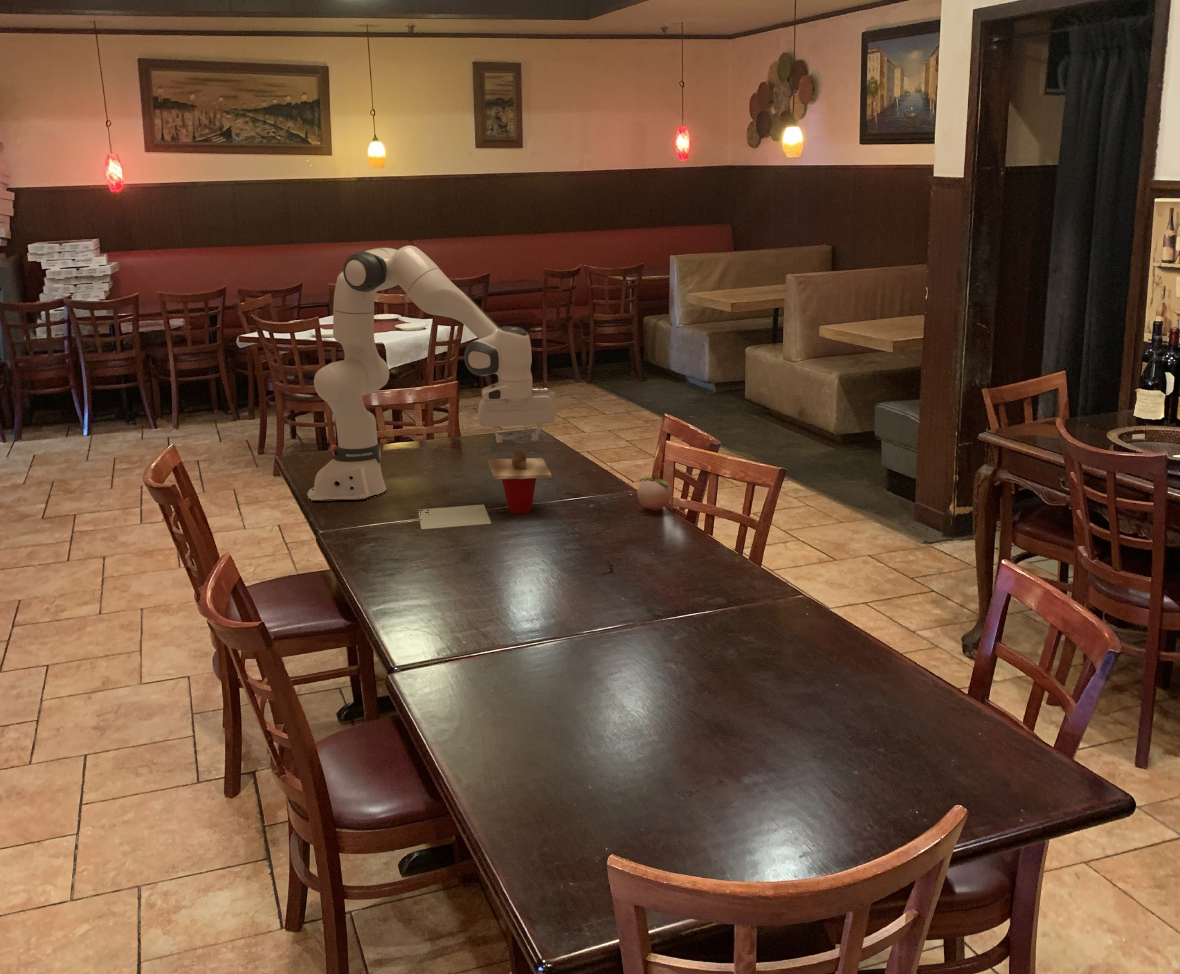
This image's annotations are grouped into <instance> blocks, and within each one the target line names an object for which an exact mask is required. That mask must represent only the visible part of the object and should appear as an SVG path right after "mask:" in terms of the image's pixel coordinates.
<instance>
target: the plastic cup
mask: <svg viewBox="0 0 1180 974" xmlns="http://www.w3.org/2000/svg"><path fill="white" fill-rule="evenodd" d="M537 479H538V478H519V479H501V482H502V485H503V490H504V495H505V500H506V502H507V507H508V511H509V513H510V514H513V515H525V514H528V513H531V511H532V509H533V501H534V495H535V488H536V482H537Z"/></svg>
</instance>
